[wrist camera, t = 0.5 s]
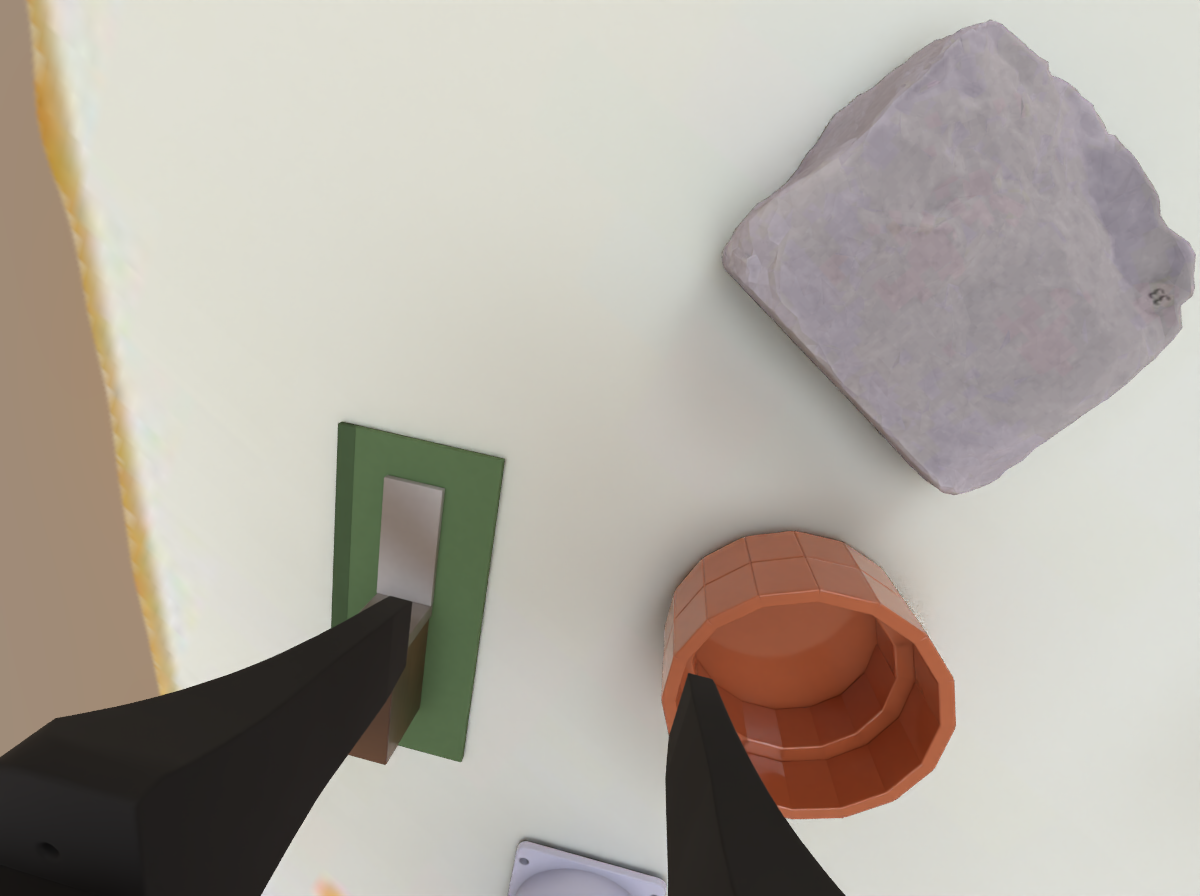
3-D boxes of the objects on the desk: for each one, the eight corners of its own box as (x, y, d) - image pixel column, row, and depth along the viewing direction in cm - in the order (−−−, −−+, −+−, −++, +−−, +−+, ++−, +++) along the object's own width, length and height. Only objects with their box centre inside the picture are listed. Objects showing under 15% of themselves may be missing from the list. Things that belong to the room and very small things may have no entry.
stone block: (899, 41, 18) (688, 271, 20) (1008, -64, 14) (720, 246, 15) (1114, 295, 20) (907, 492, 21) (1277, 280, 15) (1000, 534, 16)
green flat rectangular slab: (463, 757, 28) (460, 763, 28) (331, 721, 29) (327, 726, 29) (505, 458, 23) (502, 461, 23) (342, 421, 24) (337, 423, 23)
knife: (422, 708, 27) (388, 766, 24) (372, 695, 28) (332, 750, 24) (445, 488, 23) (408, 522, 20) (387, 474, 24) (341, 506, 20)
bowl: (855, 742, 25) (895, 847, 20) (646, 689, 26) (638, 779, 21) (937, 557, 22) (1005, 632, 17) (696, 502, 22) (700, 560, 18)
